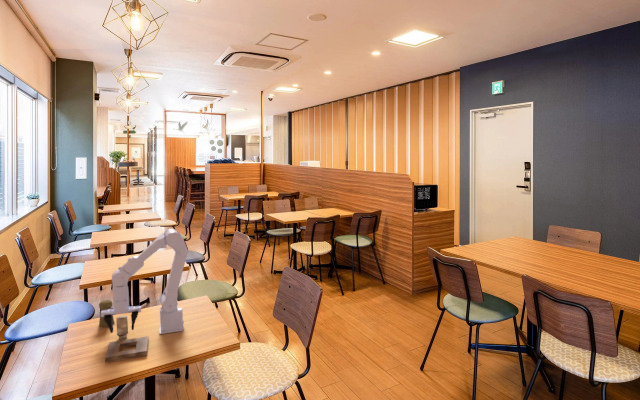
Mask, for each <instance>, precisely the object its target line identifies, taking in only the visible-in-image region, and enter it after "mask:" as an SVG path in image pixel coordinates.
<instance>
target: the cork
mask: <svg viewBox="0 0 640 400" xmlns="http://www.w3.org/2000/svg"><path fill="white" fill-rule="evenodd" d="M112 307H113V300H111V299H103V300H101V301H100V302H99V303H98V308H99V309H100V313H99V321H98V323H99V324H98V327H99V328H102V329H103V328H109V326H108V325H107V323H106V322H105V321H104V317H101V311H103V310H108V309H112ZM112 322H113V326H114V324H115V319H114V315H112Z"/></svg>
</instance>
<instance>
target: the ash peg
mask: <svg viewBox="0 0 640 400" xmlns="http://www.w3.org/2000/svg"><path fill="white" fill-rule="evenodd" d="M115 319H116V320H115V321H116V336H118V341H120V340H127V339H128V338H127V337H128V333H129V324H128V320H129V319H128V315H126V314H122V315H120V316H117V317H116V318H115Z"/></svg>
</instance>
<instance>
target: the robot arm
mask: <svg viewBox="0 0 640 400" xmlns="http://www.w3.org/2000/svg"><path fill="white" fill-rule="evenodd" d="M167 246H168V247H170V248H171V249H173V251H174V256H173V261H172V264H171V268H170V273H169V275H168V278H167V282H166V285H165V288H164V289H163V290H164V291H163V293H161V295H160V297H159V302H160V304H161V307H160V308H159V317H160V318H159V319H160V321H159V323H160V324H159V332H158V333H159V335H163V334H170V333H176V332H183V331H184V324H185V323H184V316H183V315H184V313H183V307H178V304H179V303H178V295H179V292H178V290H179V286H180V283H181V279H182V275H183V272H184V267H185V263H186V261H187V255H188V252H189V249H188V247H187V244H186V242H185V240H184V237H183V236H182V235H181V234H180V232H179V231H178V230H177V229H175V228H168V229H166V230H165V231H164V232H162V233H161V234H159V235H158V236H157V237H156V238H155V239H154V240H153V241H152V242H151V243H150V244H149V245H148V246H147V247H146V248H144V249H143V250H142V252H141V253H140V254H139V255H134V256H131V257H128V258H127V261H126V262H125V263H124V264H123V265H121V266H119V267H118V268H117V269H116V270H114V271H113V273H112V275H111V282H112V307H113V308H111V309H108V310H103V311H101V317H104V321H105V322H106V323H107V325H108V326H109V327H108V329H109V331H110V334H112V333H113V332H114V325H113V322H112V315H113V316H115V315H117V316H118V315H125V314H129V313H131V314H130V317H131V319H130V320H131V330H132V331H133V330H135V323H136V320H137V318H138V316H139V313H142V306H141V305H135V306H134V305H131V306H130V296H129V293H130V292H129V286H128V283H129V279H130V278H131V277H133V276H134V275H136V273H137V272H139V270H141V269H142V268H143V267H144V265H145V261H146V260H148V259H149V258H151V256H152V255H154V254H155V253H156V252H157V251H158V250H161V249H167Z"/></svg>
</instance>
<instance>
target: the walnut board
mask: <svg viewBox="0 0 640 400" xmlns="http://www.w3.org/2000/svg"><path fill="white" fill-rule="evenodd" d="M133 347H135V348H133ZM126 348H132V349H126ZM121 349H125V350H121ZM148 349H149V336H148V335H147V336H141V337H133V338H129V339H128V338H126V339H124V340H114V341H109V342H108V346H107V349H106V352H105V356H104V364H107V363H112V362H117V361H124V360H129V359H130V360H131V359H134V358H135V359H136V358H141V357H142V358H143V357H147V356H148V351H149V350H148Z"/></svg>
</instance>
